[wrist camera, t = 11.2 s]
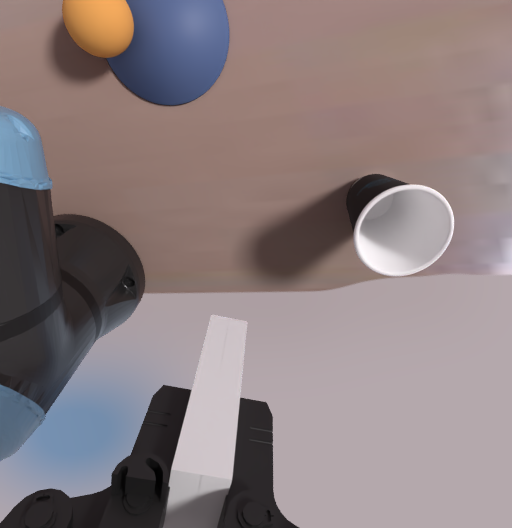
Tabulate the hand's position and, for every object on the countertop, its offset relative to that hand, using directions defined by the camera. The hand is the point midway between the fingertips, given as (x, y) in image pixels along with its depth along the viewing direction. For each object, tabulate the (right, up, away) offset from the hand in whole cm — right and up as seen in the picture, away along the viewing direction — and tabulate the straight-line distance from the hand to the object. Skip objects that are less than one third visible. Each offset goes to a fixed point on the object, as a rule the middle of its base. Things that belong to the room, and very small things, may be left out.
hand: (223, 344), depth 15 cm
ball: (-12, +24, +15) cm, 31 cm away
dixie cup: (+14, +11, +24) cm, 30 cm away
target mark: (-7, +25, +18) cm, 31 cm away
